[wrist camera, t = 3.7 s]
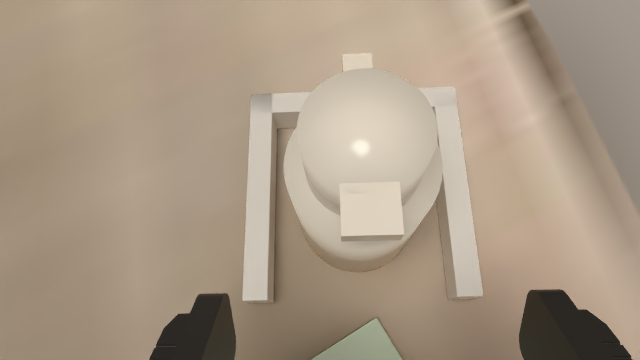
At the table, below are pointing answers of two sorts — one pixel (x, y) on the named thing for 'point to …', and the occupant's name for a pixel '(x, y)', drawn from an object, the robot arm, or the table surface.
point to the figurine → (363, 165)
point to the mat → (363, 345)
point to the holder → (261, 195)
